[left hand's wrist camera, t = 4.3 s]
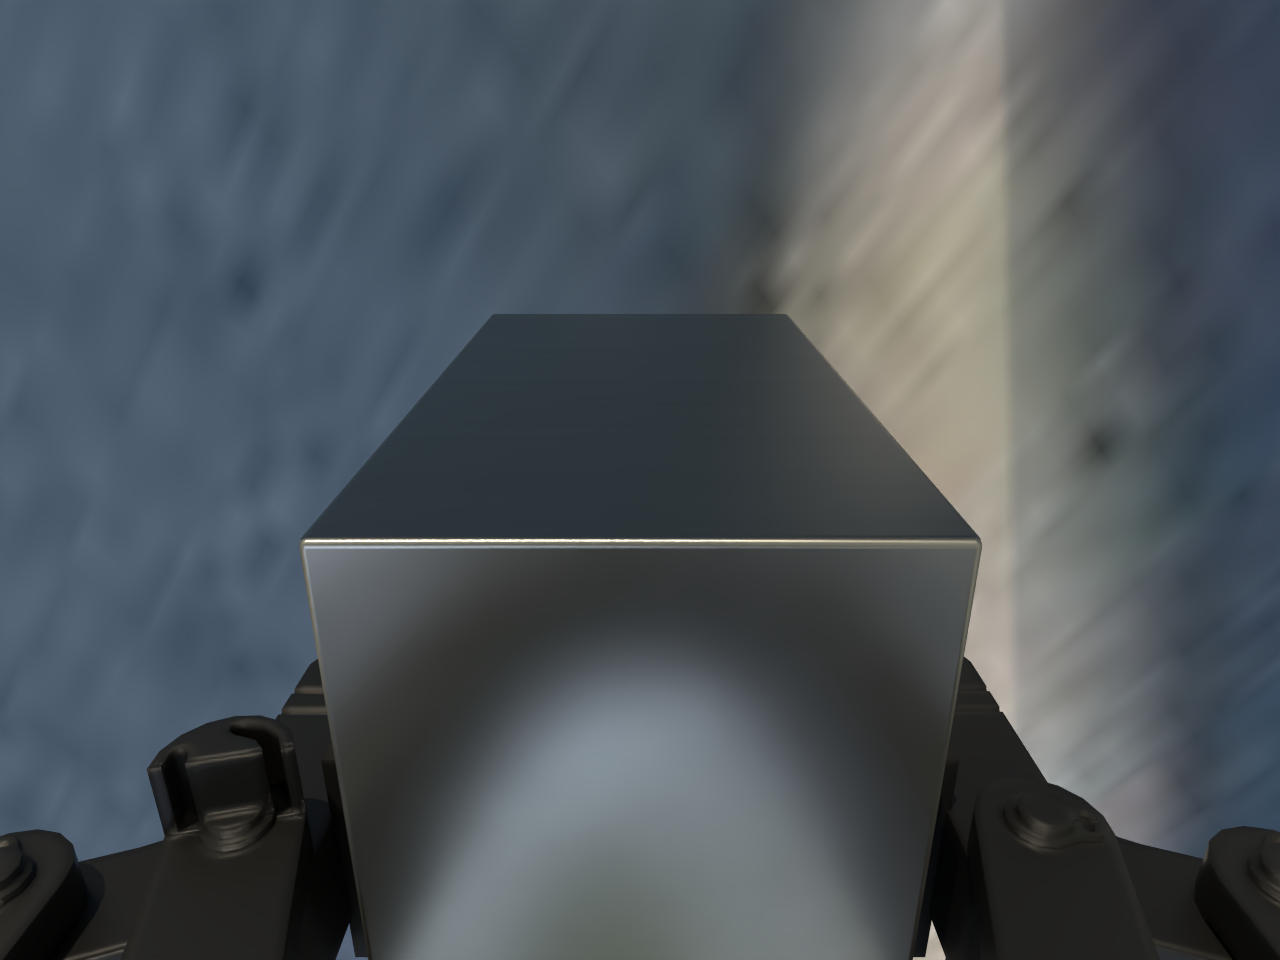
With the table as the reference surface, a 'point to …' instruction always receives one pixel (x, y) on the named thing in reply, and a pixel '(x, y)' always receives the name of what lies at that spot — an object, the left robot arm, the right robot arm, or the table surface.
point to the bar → (640, 652)
